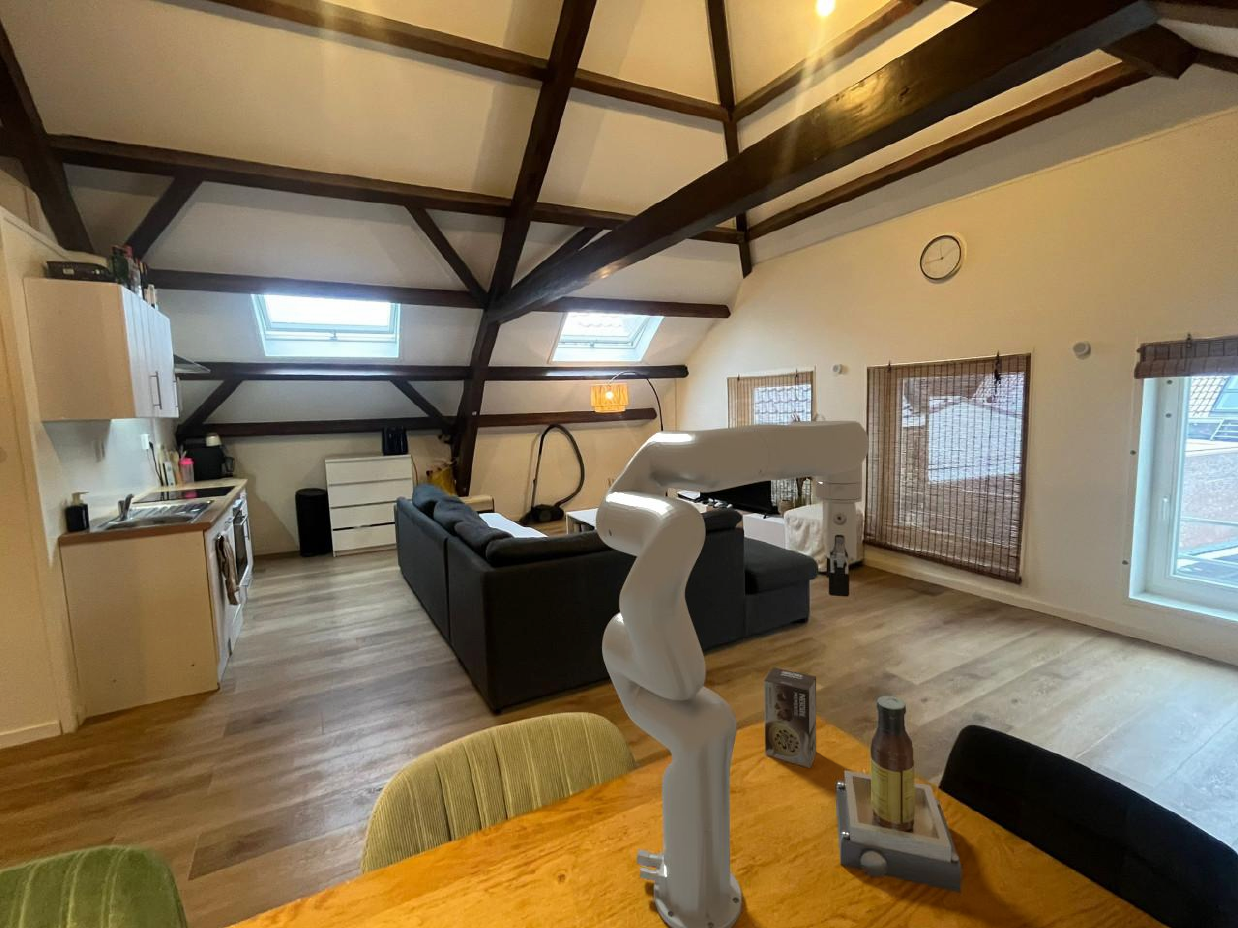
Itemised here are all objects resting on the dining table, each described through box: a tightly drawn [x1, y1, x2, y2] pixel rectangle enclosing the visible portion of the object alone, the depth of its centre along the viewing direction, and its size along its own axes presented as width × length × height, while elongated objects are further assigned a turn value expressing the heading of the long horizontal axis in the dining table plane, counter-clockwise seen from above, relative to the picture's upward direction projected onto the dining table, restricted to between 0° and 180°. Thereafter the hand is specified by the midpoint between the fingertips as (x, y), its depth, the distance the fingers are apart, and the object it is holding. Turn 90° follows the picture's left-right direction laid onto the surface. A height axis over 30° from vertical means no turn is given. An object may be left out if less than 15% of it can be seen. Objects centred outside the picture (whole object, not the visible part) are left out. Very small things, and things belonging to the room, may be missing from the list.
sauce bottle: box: [869, 695, 915, 831], centre depth 85 cm, size 7×6×20 cm
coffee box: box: [763, 667, 817, 769], centre depth 109 cm, size 9×6×16 cm
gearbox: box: [835, 770, 962, 894], centre depth 86 cm, size 16×15×6 cm
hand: (837, 586), depth 96 cm, fingers open, 9 cm apart
